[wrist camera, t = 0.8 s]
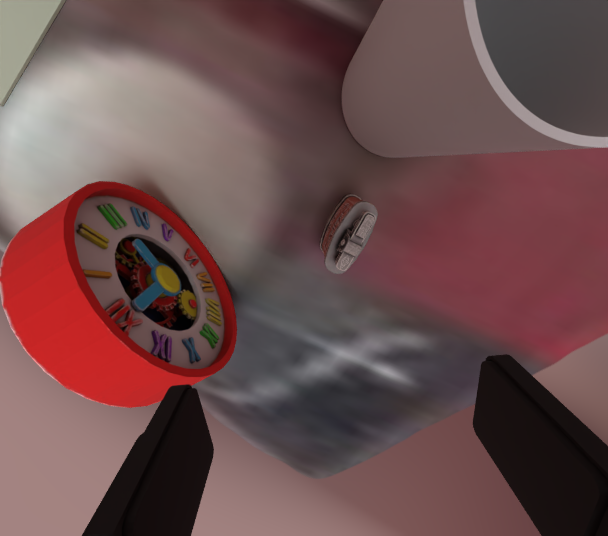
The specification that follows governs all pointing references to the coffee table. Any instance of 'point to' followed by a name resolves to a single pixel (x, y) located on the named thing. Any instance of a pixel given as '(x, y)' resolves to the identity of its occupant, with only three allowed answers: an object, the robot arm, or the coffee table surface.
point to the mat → (22, 36)
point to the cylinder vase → (480, 77)
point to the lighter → (347, 232)
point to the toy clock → (117, 297)
